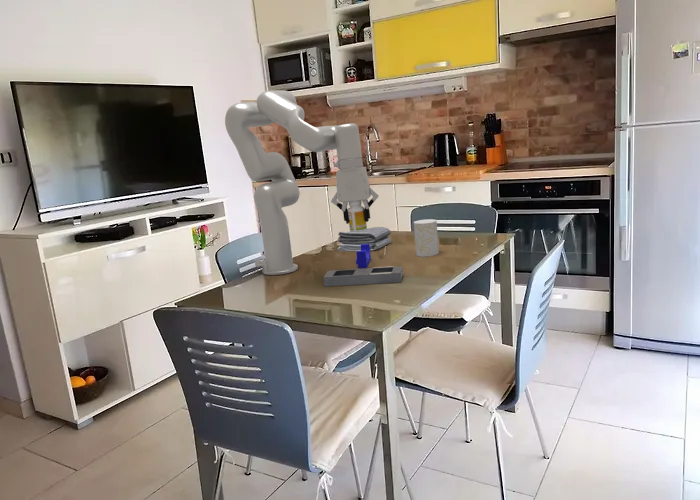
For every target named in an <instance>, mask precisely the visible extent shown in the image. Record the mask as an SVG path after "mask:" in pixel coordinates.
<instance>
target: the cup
mask: <svg viewBox="0 0 700 500" xmlns="http://www.w3.org/2000/svg"><path fill="white" fill-rule="evenodd" d="M437 223H438V222H437V219H432V218H431V219H419V220H416V221H415V220H414V221H413V231H414V241H415V243H414V244H415V254H416V256H417V257H422V258H423V257H425V258H427V257H433V256H434V255H435V256H438V255H439V254H440V252H439V251H440V250H439V236H438V224H437ZM437 254H438V255H437ZM435 256H434V257H435Z"/></svg>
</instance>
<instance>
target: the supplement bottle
mask: <svg viewBox="0 0 700 500" xmlns="http://www.w3.org/2000/svg"><path fill="white" fill-rule="evenodd" d="M362 204H363V202H362V201H354V202H348V206H349V208H348V207H347V210H348V219H349V223H348V226H349V232H362V231H365V230H367V229H368V227H367V222H365V215H364V209H365V206H363V205H362Z"/></svg>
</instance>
